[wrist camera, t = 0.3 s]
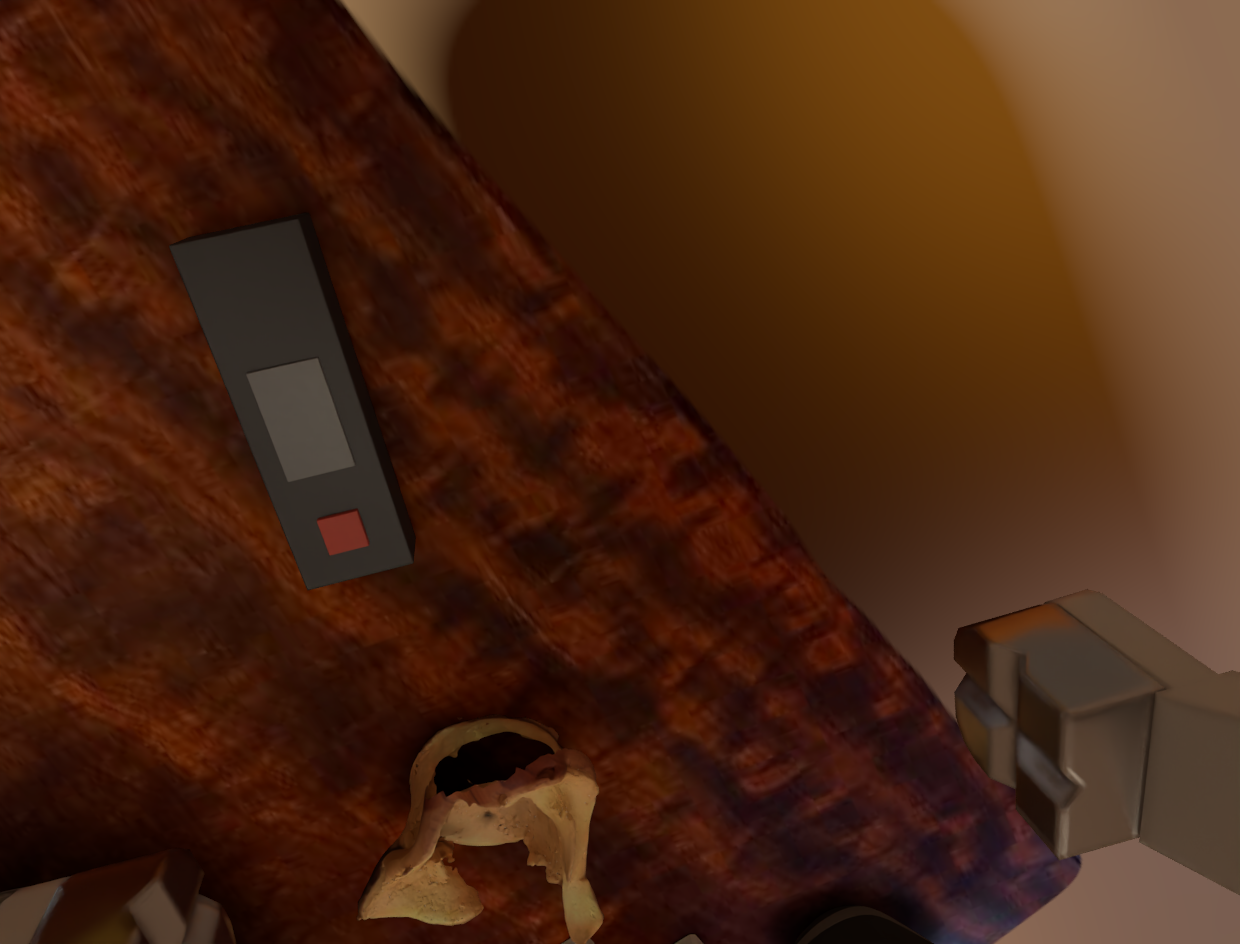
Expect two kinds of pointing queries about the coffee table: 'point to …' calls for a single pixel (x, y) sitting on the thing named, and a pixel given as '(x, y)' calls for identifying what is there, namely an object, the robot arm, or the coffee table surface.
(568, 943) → the white mech figurine
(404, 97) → the coffee table surface
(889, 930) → the computer mouse
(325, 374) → the remote
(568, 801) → the bone
